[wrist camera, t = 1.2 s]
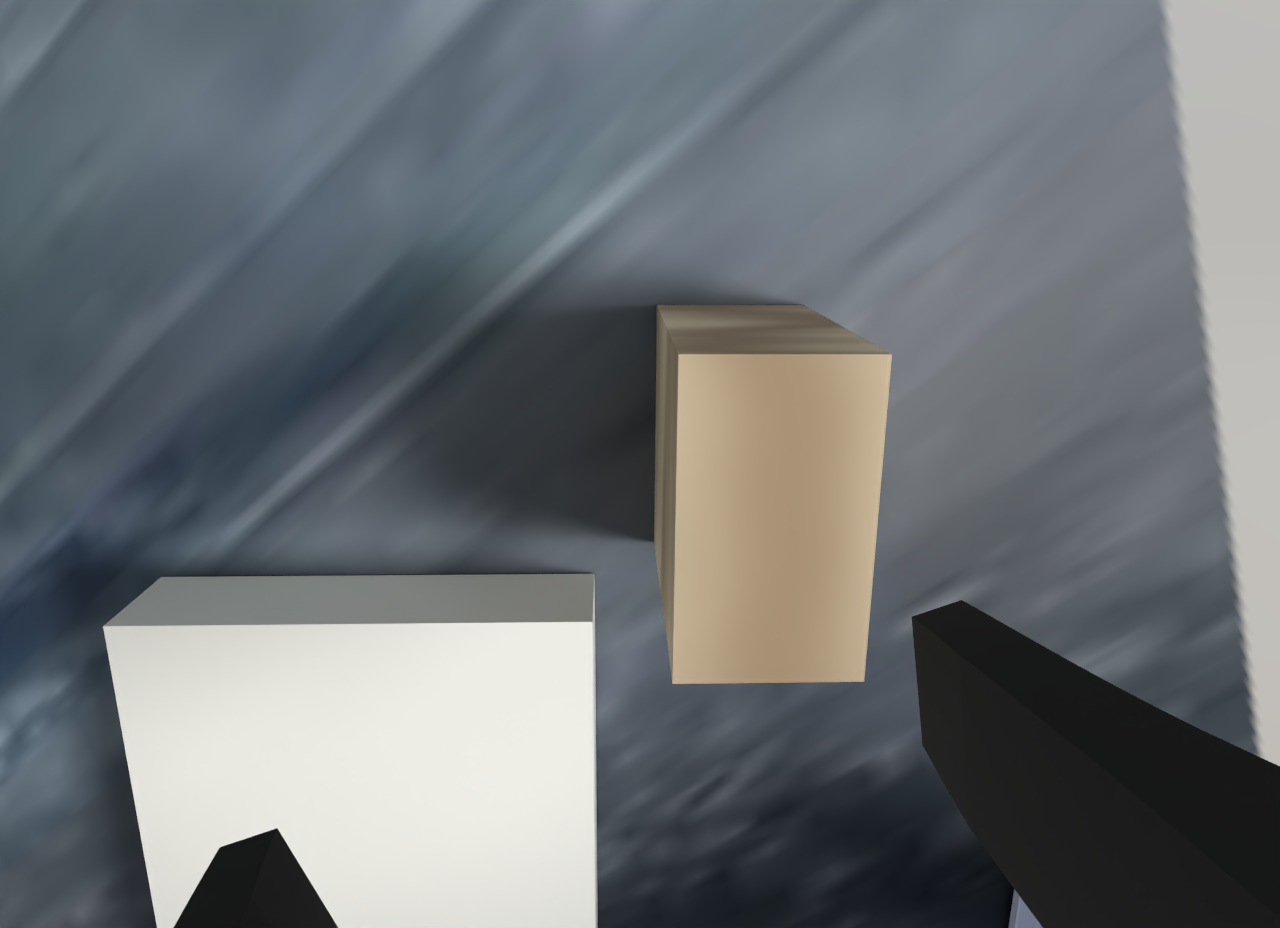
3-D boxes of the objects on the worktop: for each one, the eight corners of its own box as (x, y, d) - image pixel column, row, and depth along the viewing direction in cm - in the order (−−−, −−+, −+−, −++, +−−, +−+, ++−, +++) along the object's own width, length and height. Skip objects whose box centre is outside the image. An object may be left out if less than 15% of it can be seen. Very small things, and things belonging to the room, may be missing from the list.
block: (803, 305, 20) (891, 354, 14) (790, 541, 21) (863, 681, 15) (656, 304, 20) (679, 354, 13) (654, 542, 21) (672, 683, 15)
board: (594, 573, 21) (592, 621, 19) (597, 933, 24) (596, 1014, 22) (161, 576, 21) (102, 626, 19) (218, 941, 24) (174, 1024, 21)
